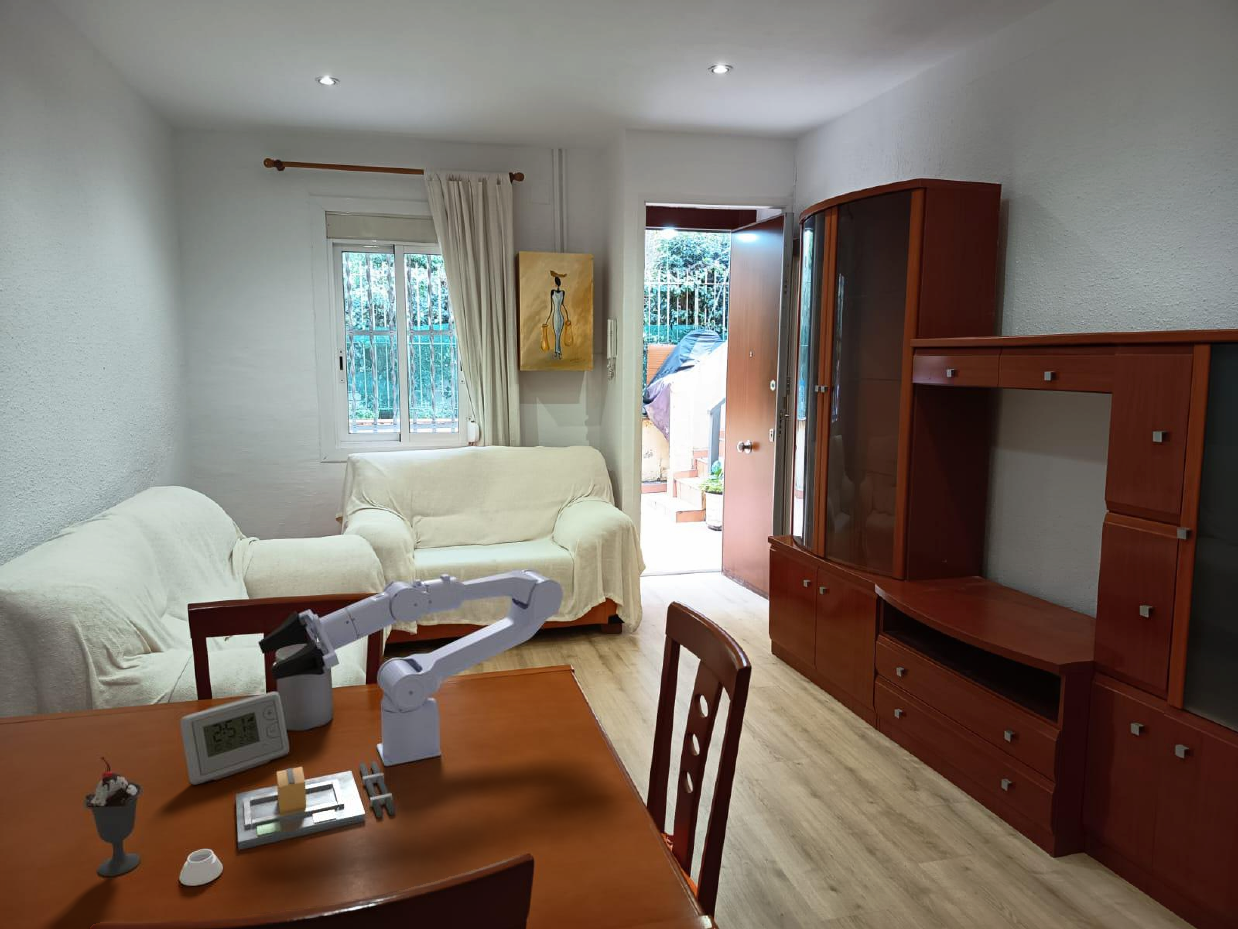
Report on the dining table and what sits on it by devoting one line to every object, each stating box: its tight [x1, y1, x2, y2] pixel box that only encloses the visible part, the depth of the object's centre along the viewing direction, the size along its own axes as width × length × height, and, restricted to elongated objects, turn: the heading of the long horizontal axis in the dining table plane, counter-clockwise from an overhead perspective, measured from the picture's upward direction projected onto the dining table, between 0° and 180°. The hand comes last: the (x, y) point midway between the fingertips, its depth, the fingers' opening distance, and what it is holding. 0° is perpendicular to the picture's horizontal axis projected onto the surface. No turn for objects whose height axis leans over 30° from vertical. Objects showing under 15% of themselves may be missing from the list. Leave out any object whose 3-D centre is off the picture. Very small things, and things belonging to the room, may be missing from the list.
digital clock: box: [179, 691, 290, 785], centre depth 137 cm, size 16×9×11 cm, turn 123°
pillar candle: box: [275, 640, 334, 732], centre depth 154 cm, size 10×10×15 cm
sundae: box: [83, 755, 144, 877], centre depth 109 cm, size 7×7×15 cm
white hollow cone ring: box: [179, 848, 224, 887], centre depth 108 cm, size 5×3×5 cm
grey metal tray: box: [235, 770, 366, 851], centre depth 124 cm, size 17×14×2 cm
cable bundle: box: [359, 760, 396, 819], centre depth 130 cm, size 3×16×1 cm, turn 26°
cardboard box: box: [276, 766, 306, 814], centre depth 123 cm, size 4×5×5 cm
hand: (266, 660), depth 129 cm, fingers open, 7 cm apart
